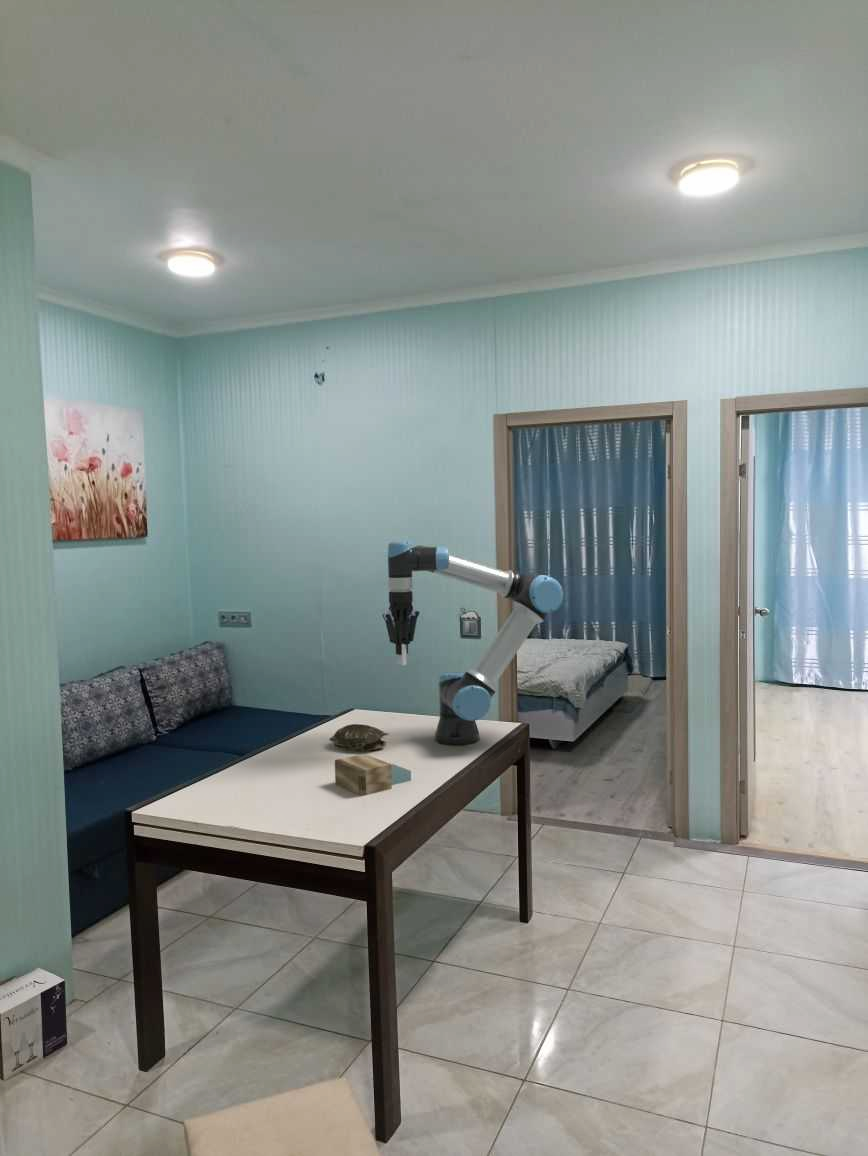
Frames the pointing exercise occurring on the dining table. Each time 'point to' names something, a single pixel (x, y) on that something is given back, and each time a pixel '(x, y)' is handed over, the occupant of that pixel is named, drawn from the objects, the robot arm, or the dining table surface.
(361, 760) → the overhang
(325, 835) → the dining table surface
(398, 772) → the teal tabbed plate
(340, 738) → the turtle shell
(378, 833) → the dining table surface
